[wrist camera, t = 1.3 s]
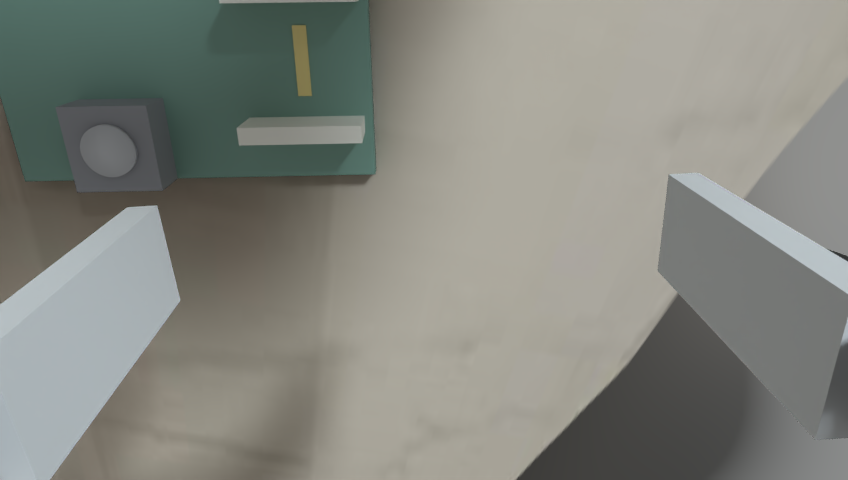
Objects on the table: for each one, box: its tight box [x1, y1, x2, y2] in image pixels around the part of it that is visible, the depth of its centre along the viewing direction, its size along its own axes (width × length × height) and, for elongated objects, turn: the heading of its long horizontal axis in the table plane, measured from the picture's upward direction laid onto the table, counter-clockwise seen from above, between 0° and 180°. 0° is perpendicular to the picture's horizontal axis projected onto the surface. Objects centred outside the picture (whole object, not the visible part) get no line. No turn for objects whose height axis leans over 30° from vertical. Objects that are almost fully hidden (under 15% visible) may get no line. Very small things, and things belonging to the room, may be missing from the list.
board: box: [0, 0, 376, 192], centre depth 34 cm, size 12×22×4 cm, turn 91°
